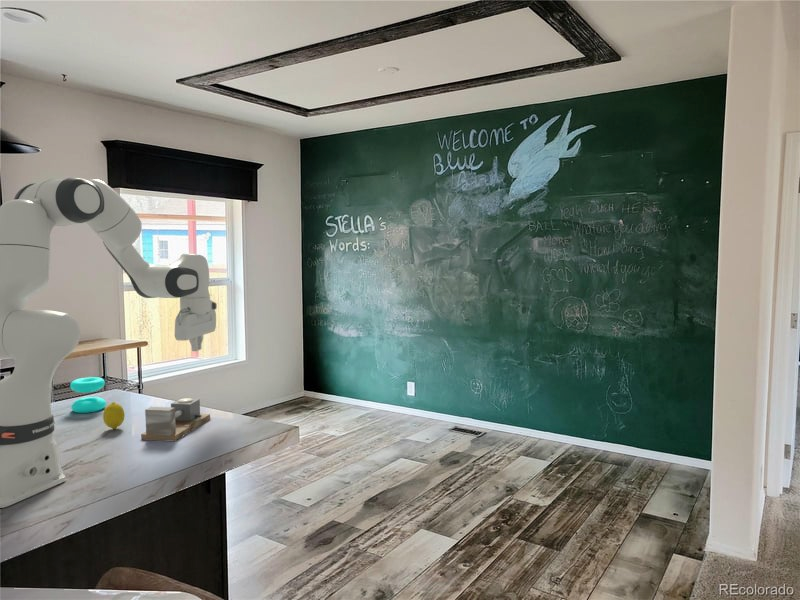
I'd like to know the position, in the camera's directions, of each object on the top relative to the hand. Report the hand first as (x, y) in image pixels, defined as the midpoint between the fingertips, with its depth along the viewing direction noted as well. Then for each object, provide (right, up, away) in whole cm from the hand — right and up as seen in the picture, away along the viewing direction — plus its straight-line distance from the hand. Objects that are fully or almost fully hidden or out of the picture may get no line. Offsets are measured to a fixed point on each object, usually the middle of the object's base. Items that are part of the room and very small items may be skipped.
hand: (196, 350), depth 181 cm
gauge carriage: (0, -20, -8) cm, 21 cm away
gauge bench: (-2, -22, -11) cm, 25 cm away
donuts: (-38, -20, +9) cm, 44 cm away
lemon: (-20, -22, -12) cm, 32 cm away
